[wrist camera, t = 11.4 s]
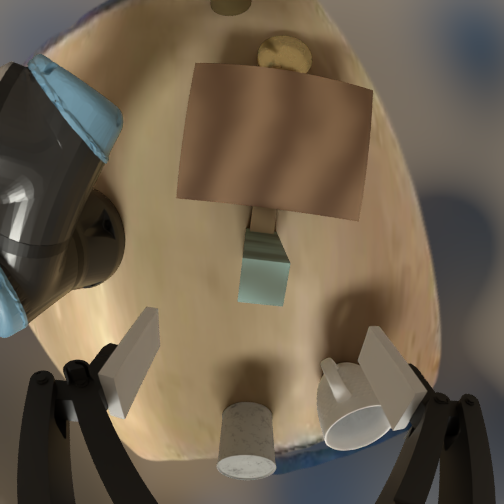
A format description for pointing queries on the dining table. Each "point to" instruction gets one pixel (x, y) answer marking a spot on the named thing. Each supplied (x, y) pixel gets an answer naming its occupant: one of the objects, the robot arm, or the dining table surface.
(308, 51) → the token
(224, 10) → the cork
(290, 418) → the dining table surface
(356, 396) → the mug
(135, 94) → the dining table surface
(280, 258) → the sweep tool
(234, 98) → the wooden bench
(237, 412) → the speckled white cylinder
